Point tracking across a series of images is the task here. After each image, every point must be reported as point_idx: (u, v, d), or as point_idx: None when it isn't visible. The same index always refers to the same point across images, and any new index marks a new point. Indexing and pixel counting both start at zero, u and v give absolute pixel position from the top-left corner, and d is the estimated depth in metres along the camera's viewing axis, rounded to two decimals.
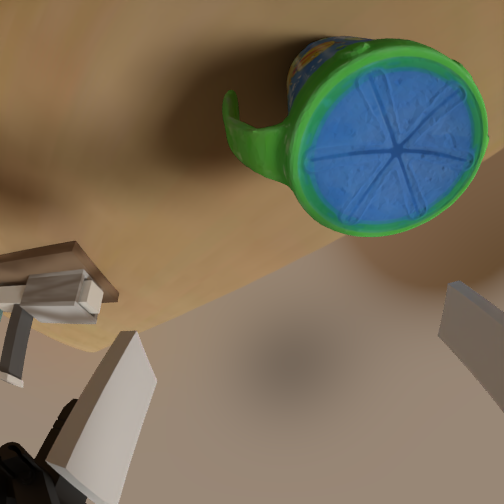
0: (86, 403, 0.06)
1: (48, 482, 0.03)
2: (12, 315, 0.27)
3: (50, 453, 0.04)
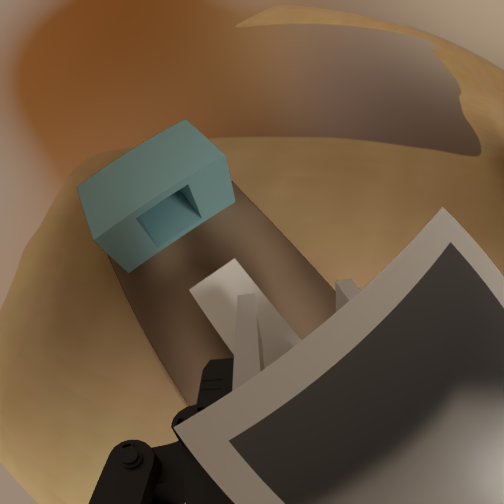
0: (247, 353, 0.08)
1: None
2: None
3: None
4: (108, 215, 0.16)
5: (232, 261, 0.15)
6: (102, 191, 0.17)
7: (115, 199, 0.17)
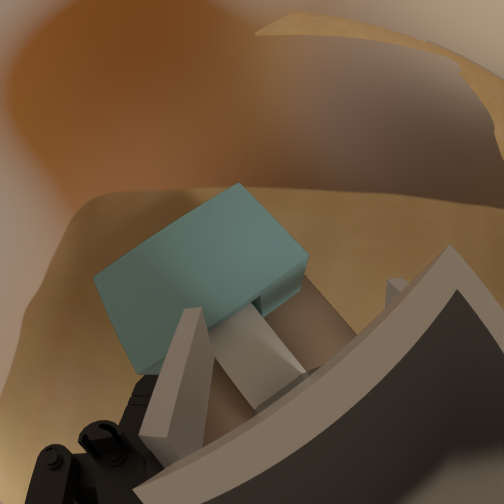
0: (171, 373, 0.07)
1: (141, 464, 0.05)
2: None
3: (143, 426, 0.05)
4: (152, 338, 0.12)
5: None
6: (134, 294, 0.13)
7: (158, 313, 0.13)
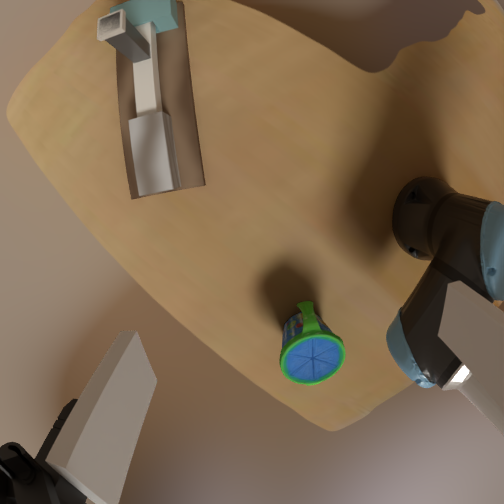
0: (86, 403, 0.06)
1: (48, 482, 0.03)
2: (145, 42, 0.28)
3: (50, 453, 0.04)
4: None
5: None
6: None
7: None
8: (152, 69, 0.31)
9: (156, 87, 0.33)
